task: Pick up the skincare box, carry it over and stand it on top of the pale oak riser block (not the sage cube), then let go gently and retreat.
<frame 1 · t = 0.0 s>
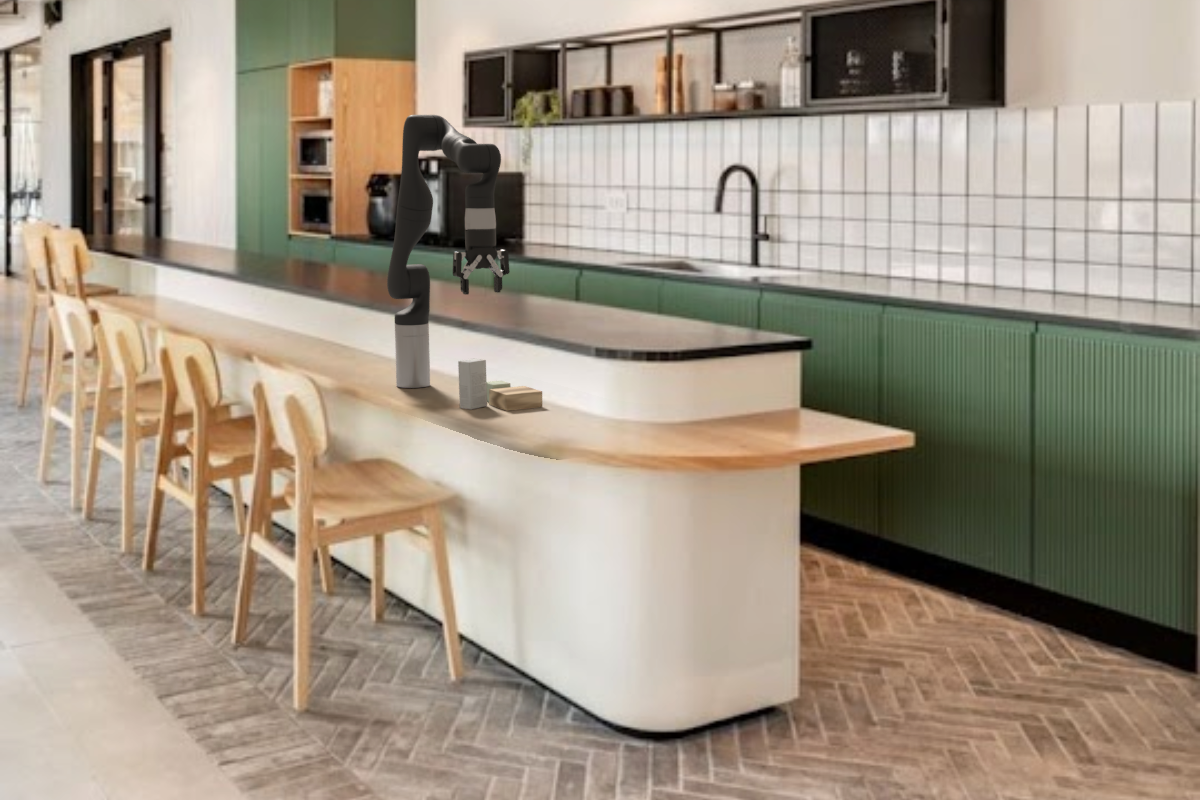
hand: (481, 293, 359), 29 cm above the table, fingers open, 8 cm apart
skincare box: (473, 408, 369), on the table
oak riser: (515, 405, 370), on the table
sage cube: (497, 401, 377), on the table
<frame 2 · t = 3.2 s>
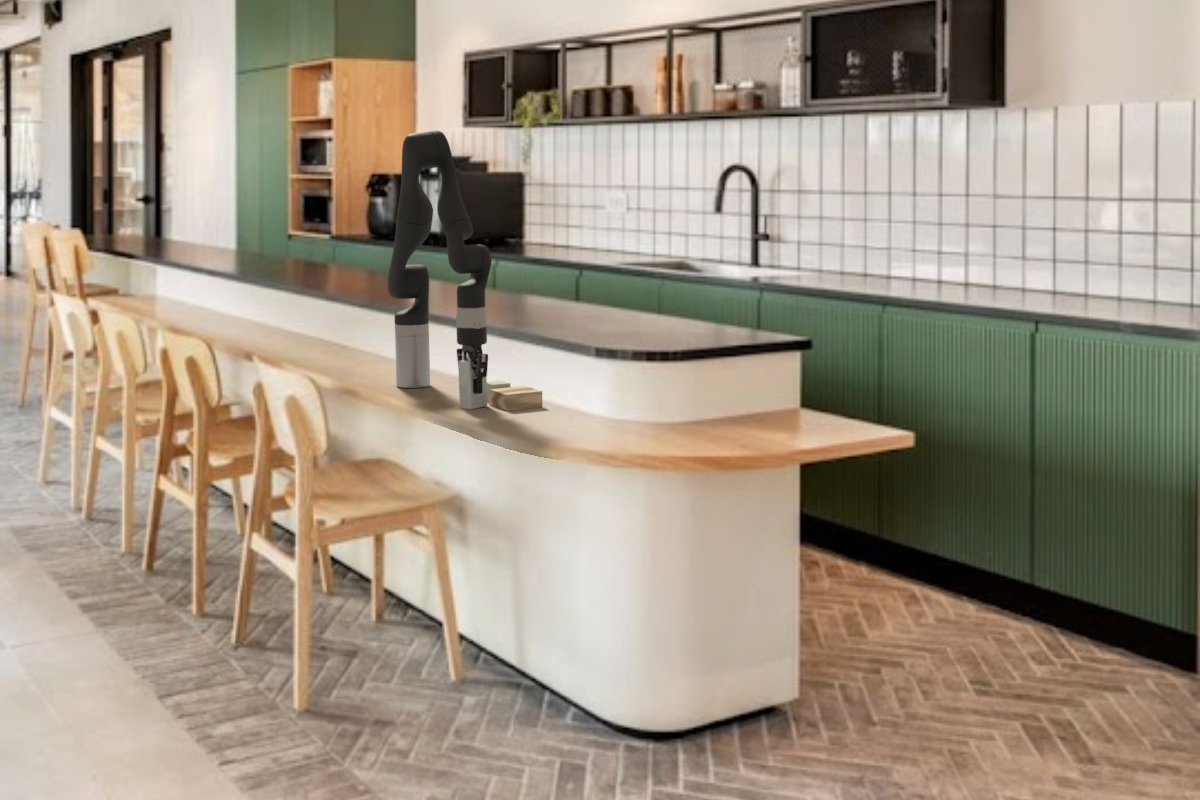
hand: (472, 391, 368), 4 cm above the table, fingers closed on skincare box, 5 cm apart
skincare box: (473, 407, 369), on the table, touching gripper
everything else where it was.
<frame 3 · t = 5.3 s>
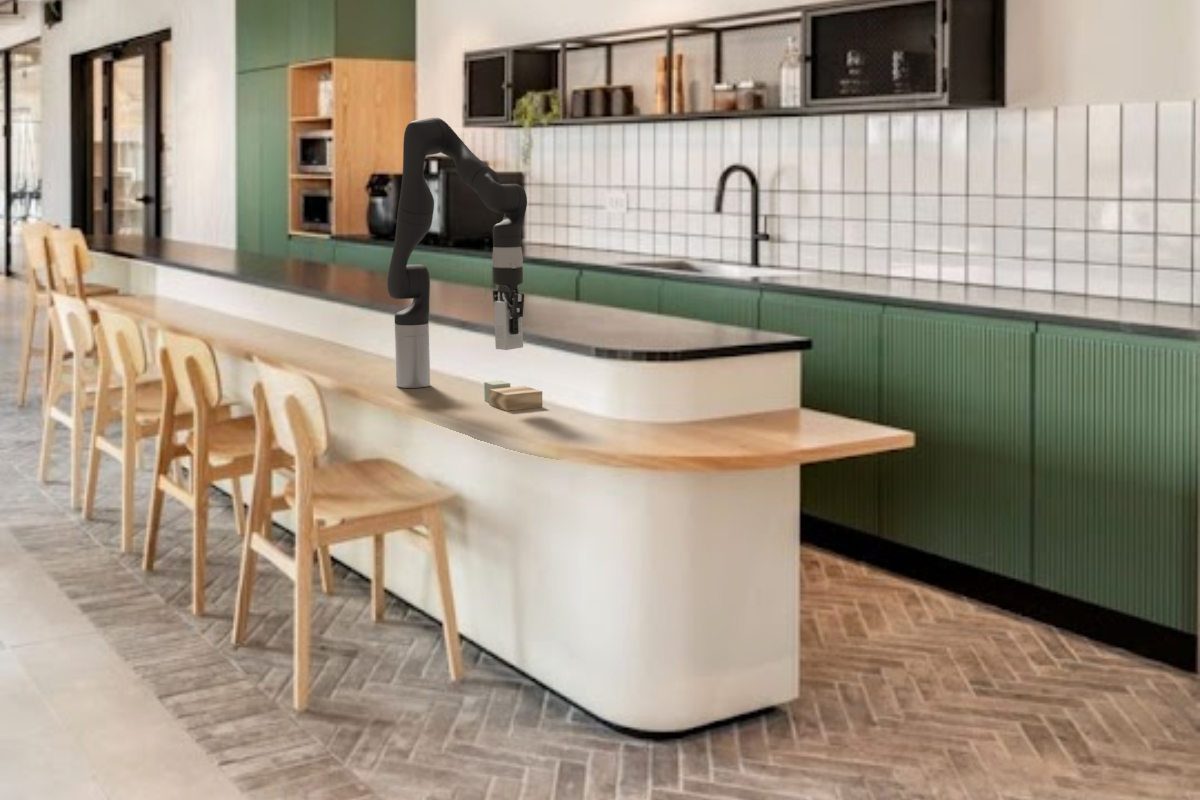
hand: (509, 332, 366), 19 cm above the table, fingers closed on skincare box, 5 cm apart
skincare box: (509, 349, 367), point 15 cm above the table, touching gripper
everything else where it was.
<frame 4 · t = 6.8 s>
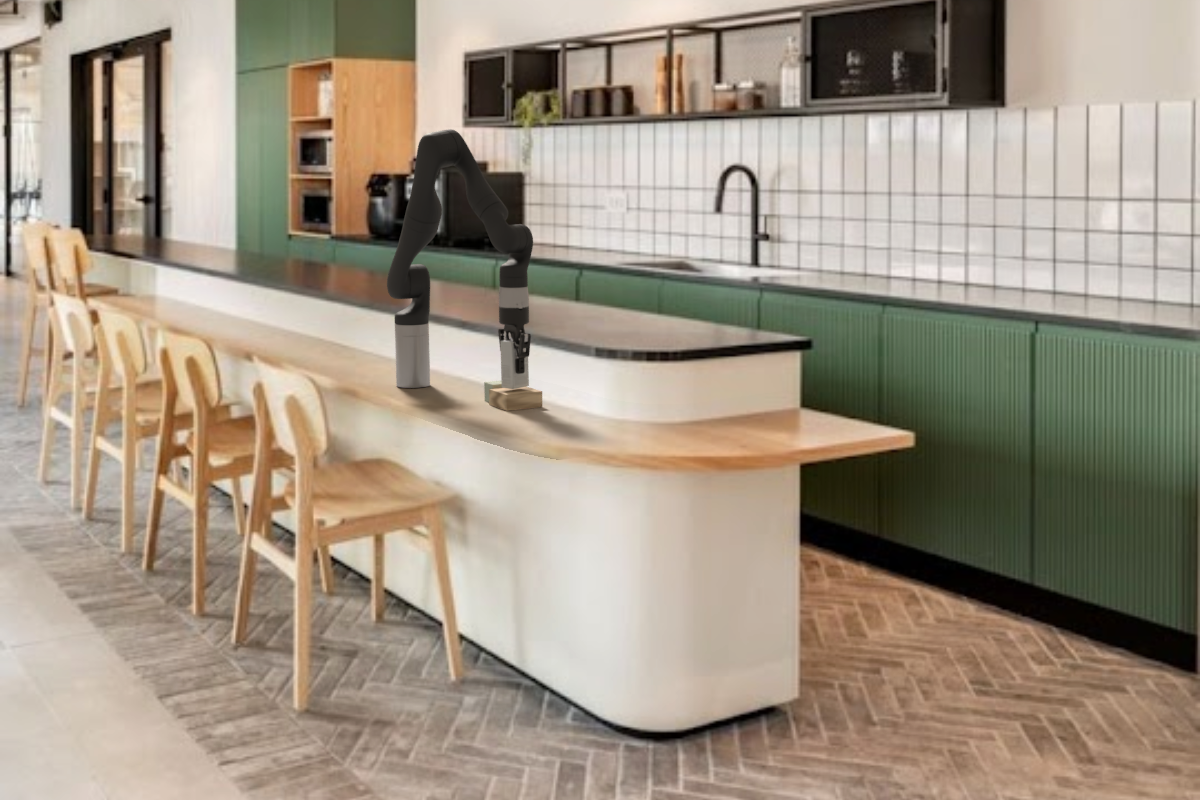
hand: (514, 371, 369), 9 cm above the table, fingers closed on skincare box, 5 cm apart
skincare box: (514, 387, 369), point 5 cm above the table, touching gripper
everything else where it was.
when the fingers open (8 cm above the table, at t = 7.9 s): skincare box stays where it is, resting on oak riser.
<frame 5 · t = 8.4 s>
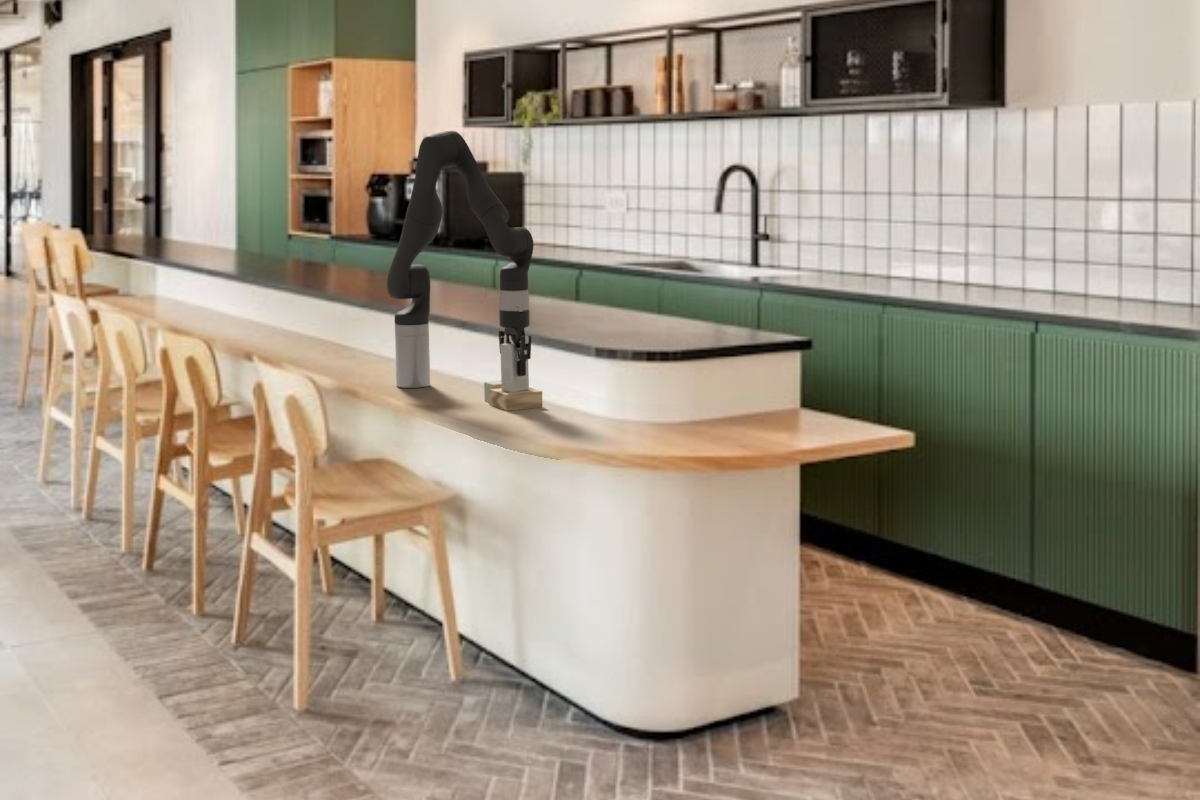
hand: (515, 373, 369), 8 cm above the table, fingers open, 6 cm apart
skincare box: (514, 391, 369), point 4 cm above the table, touching oak riser
everything else where it was.
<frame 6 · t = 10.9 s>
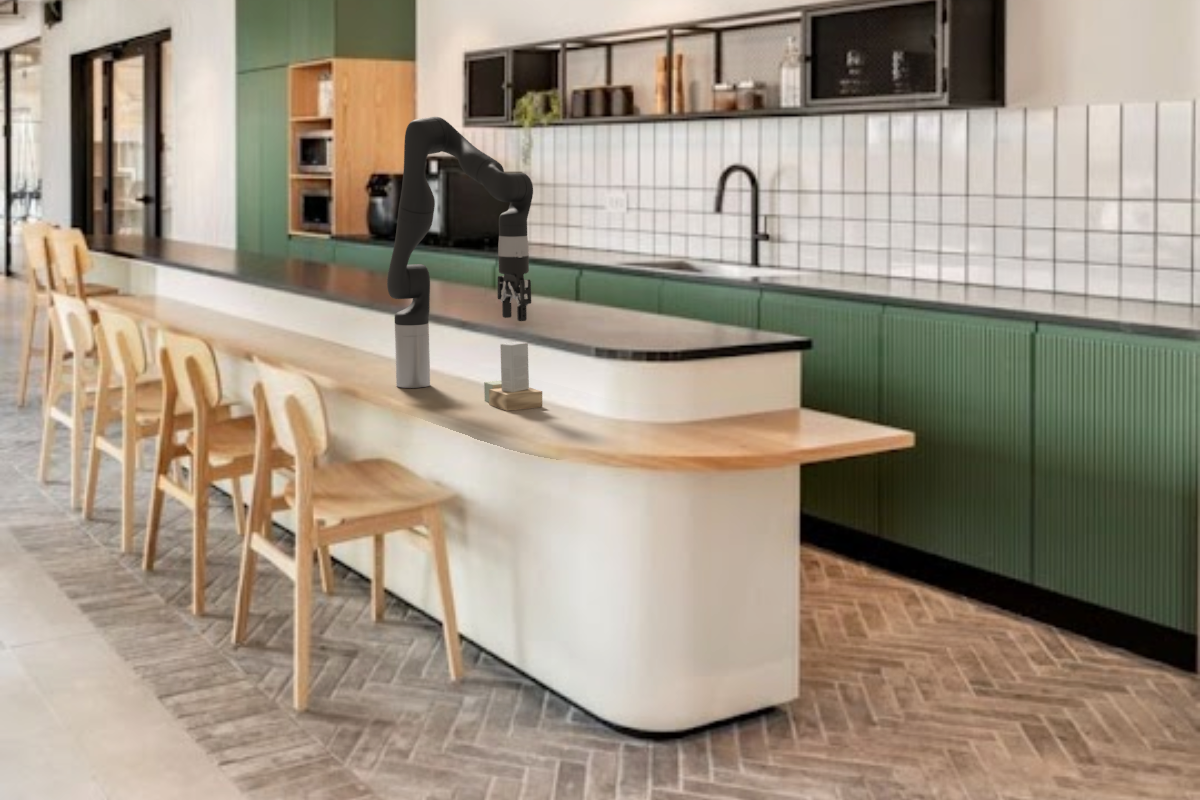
hand: (514, 319, 366), 22 cm above the table, fingers open, 8 cm apart
nothing on the table moved.
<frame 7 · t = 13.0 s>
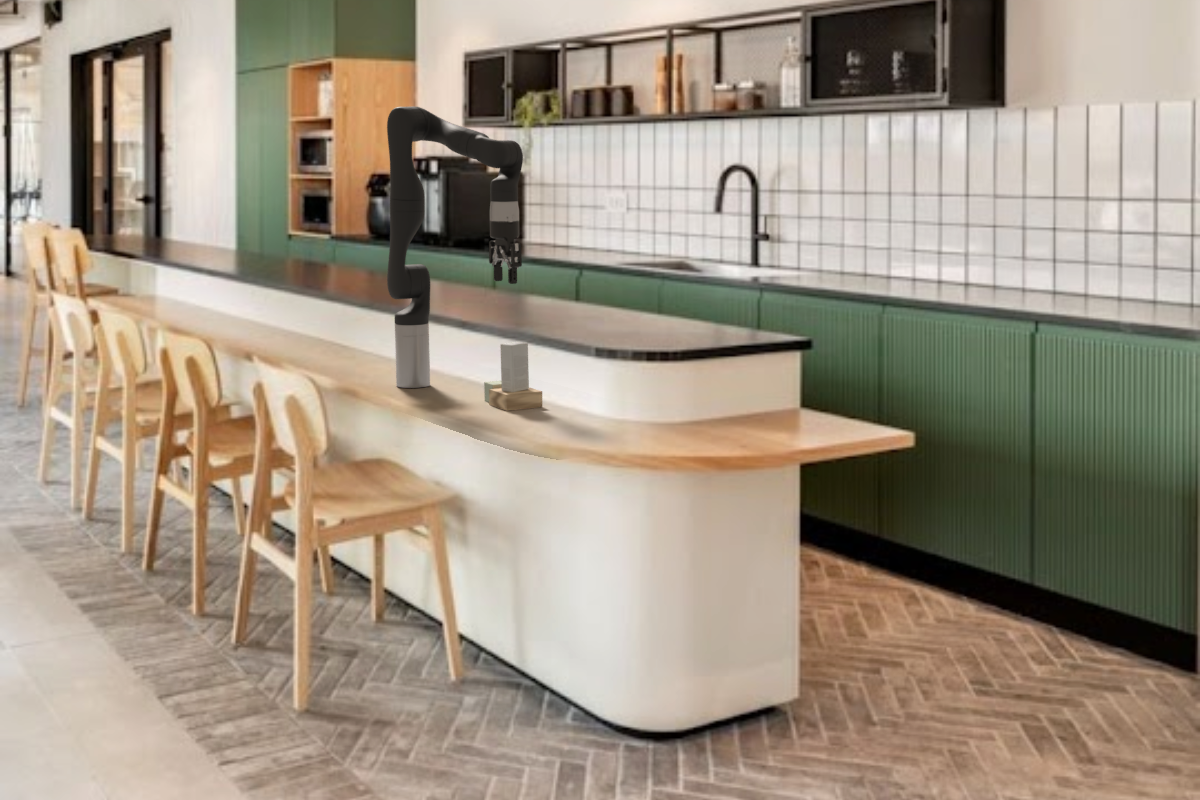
hand: (505, 282, 378), 30 cm above the table, fingers open, 8 cm apart
nothing on the table moved.
at the end: skincare box inside the target area on the oak riser (0.1 cm from its centre), point 3.8 cm above the oak riser's base; skincare box tilted 0°; the gripper is holding nothing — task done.
